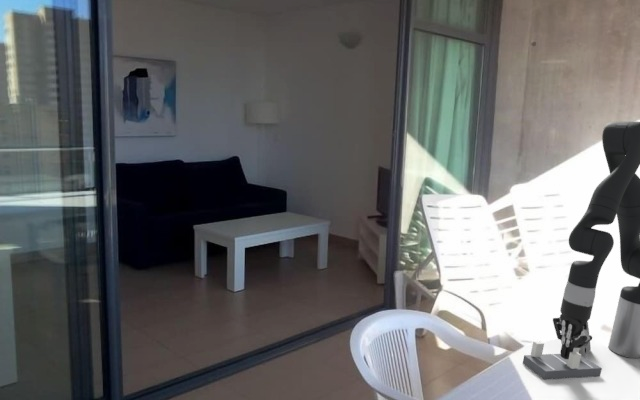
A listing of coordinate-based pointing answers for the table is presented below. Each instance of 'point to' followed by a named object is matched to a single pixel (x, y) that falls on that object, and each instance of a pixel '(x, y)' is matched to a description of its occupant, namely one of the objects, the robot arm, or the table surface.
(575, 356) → the knob
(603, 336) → the table surface
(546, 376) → the block
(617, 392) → the table surface
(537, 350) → the outer knob
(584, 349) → the electrical switch
